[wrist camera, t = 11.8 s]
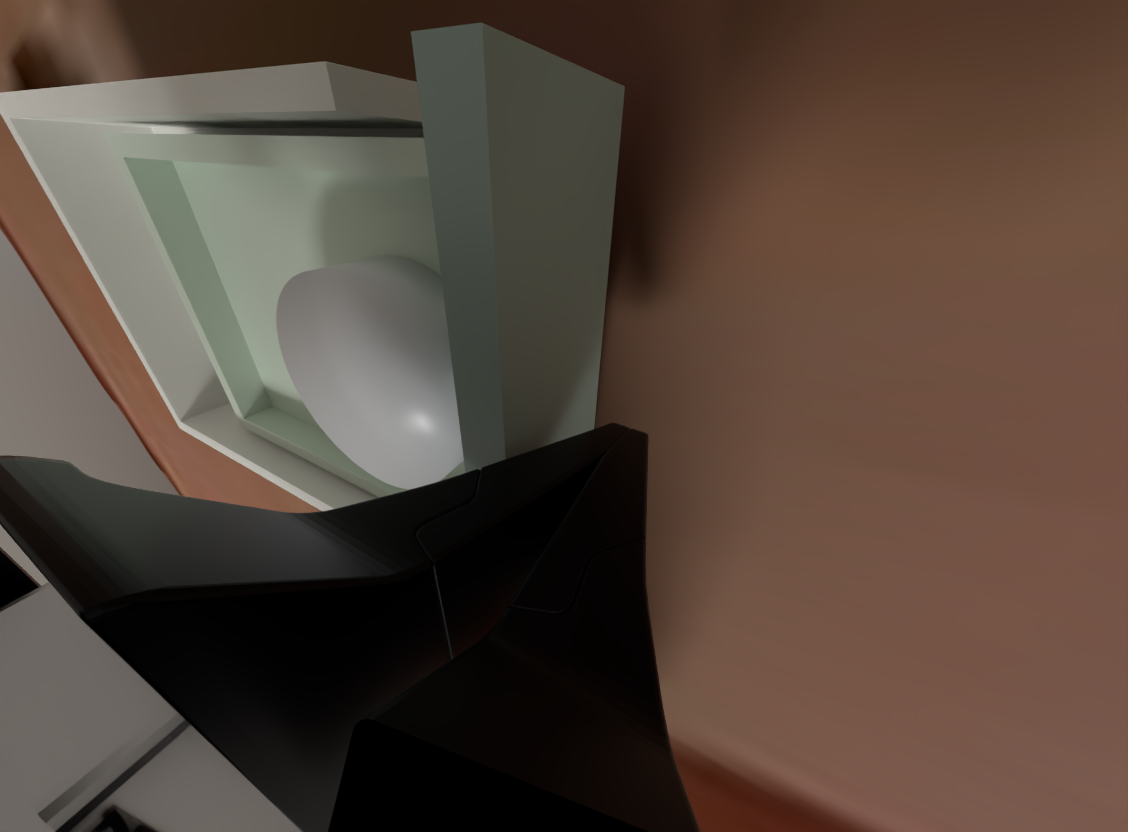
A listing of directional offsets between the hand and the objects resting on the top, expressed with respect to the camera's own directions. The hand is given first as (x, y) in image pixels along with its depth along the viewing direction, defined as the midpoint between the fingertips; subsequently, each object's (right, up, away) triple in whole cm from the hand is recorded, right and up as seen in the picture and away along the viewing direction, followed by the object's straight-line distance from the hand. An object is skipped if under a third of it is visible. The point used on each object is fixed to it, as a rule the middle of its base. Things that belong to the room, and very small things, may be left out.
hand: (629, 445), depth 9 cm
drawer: (-7, +3, +5) cm, 10 cm away
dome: (-6, +2, +3) cm, 7 cm away
